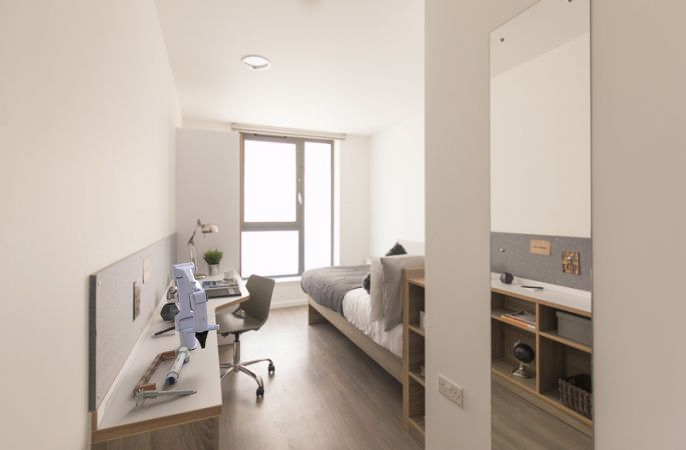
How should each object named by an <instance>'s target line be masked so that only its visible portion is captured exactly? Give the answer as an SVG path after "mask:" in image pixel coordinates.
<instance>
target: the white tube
mask: <svg viewBox="0 0 686 450" xmlns="http://www.w3.org/2000/svg"><path fill="white" fill-rule="evenodd" d="M179 348H180V347H179ZM178 350H179V349H178ZM176 356H177V357H176V359H175V361H174V363H173V365H172V366H171V368H170V370H169V372H167V374H166V378H165V381H164V382H165V385H167V386H173V385H175V384H176V382H177V381H178V379H179V378H180V376H179V375H180V372H181V370H182V367H183V364H185V363H188V361H190V359H191V352H190V351H189V350H188V349H187V348H186V347H182V348H180V350H179V351H178V355H176Z"/></svg>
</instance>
